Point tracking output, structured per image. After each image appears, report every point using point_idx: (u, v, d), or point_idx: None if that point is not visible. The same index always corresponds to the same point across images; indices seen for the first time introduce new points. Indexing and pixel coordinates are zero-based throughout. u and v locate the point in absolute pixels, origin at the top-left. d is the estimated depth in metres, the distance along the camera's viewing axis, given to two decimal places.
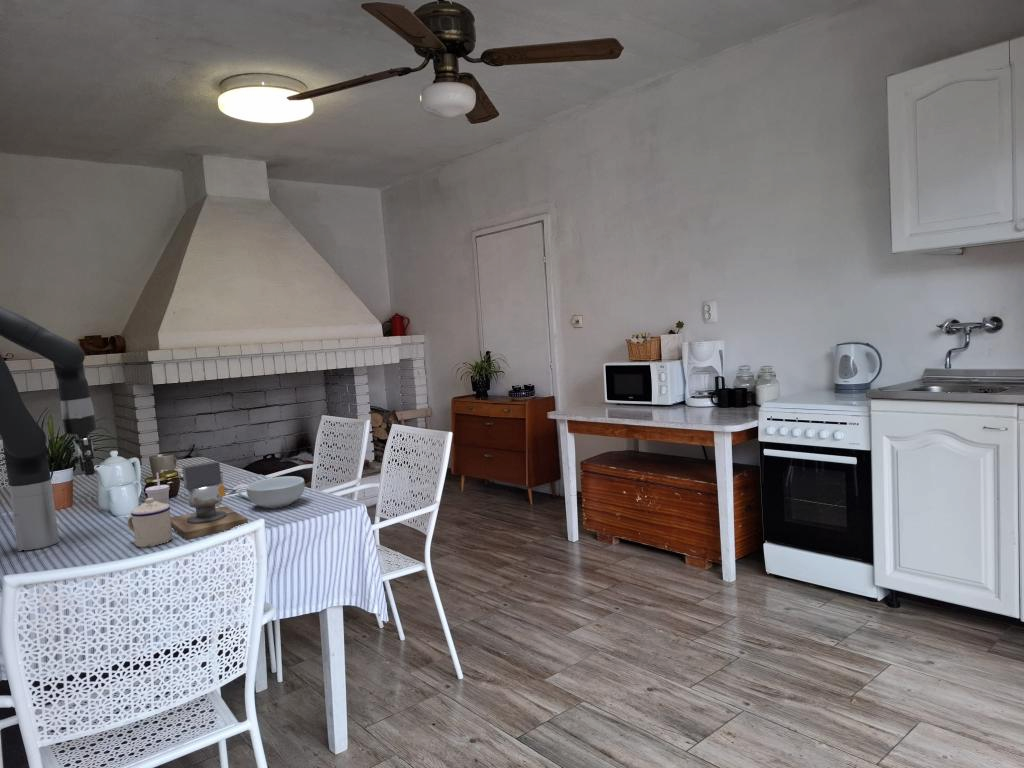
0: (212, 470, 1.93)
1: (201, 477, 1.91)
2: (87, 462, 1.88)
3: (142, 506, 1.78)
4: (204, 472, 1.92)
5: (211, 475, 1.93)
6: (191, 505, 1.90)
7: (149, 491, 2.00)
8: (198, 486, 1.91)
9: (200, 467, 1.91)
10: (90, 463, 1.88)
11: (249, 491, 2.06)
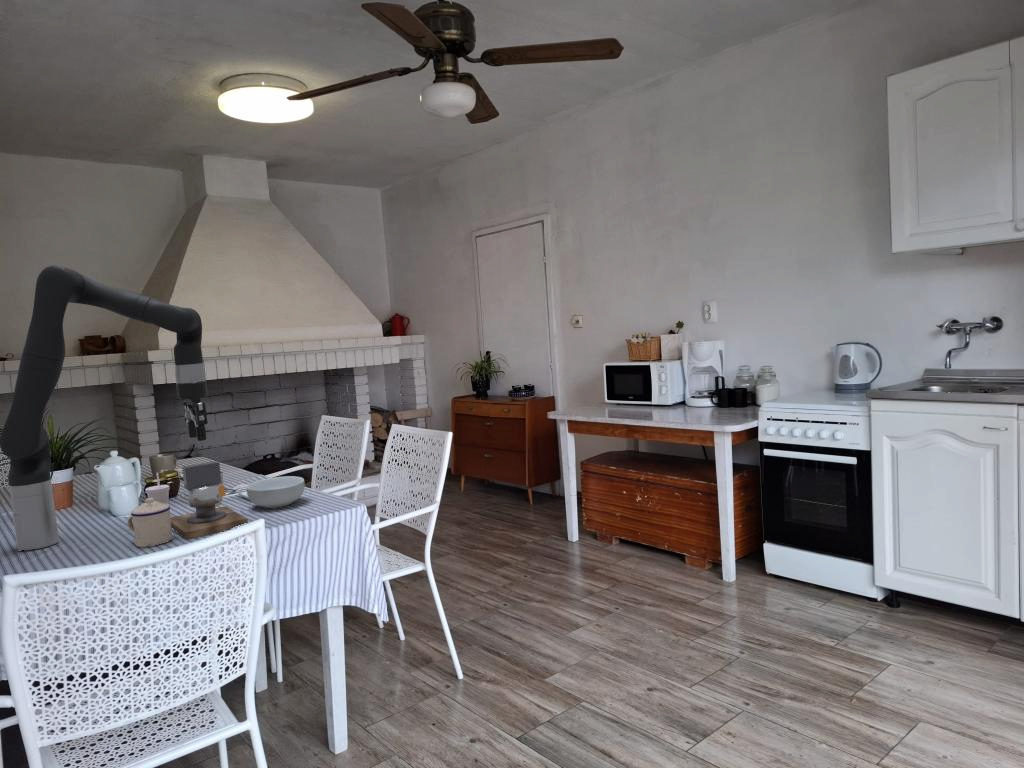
0: (212, 470, 1.93)
1: (201, 477, 1.91)
2: (200, 427, 1.87)
3: (142, 506, 1.78)
4: (204, 472, 1.92)
5: (211, 475, 1.93)
6: (191, 505, 1.90)
7: (149, 491, 2.00)
8: (198, 486, 1.91)
9: (200, 467, 1.91)
10: (203, 428, 1.88)
11: (249, 491, 2.06)
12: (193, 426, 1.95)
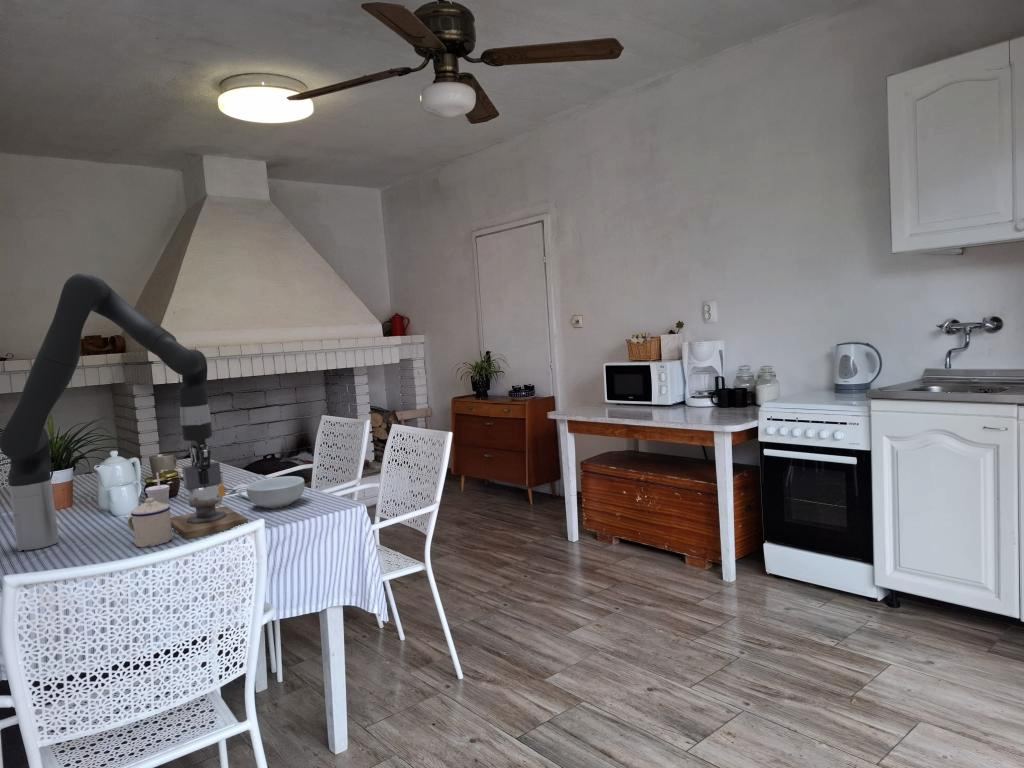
0: (212, 470, 1.93)
1: None
2: (203, 471, 1.90)
3: (142, 506, 1.78)
4: None
5: (211, 475, 1.93)
6: (191, 505, 1.90)
7: (149, 491, 2.00)
8: (198, 486, 1.91)
9: None
10: (205, 472, 1.91)
11: (249, 491, 2.06)
12: None
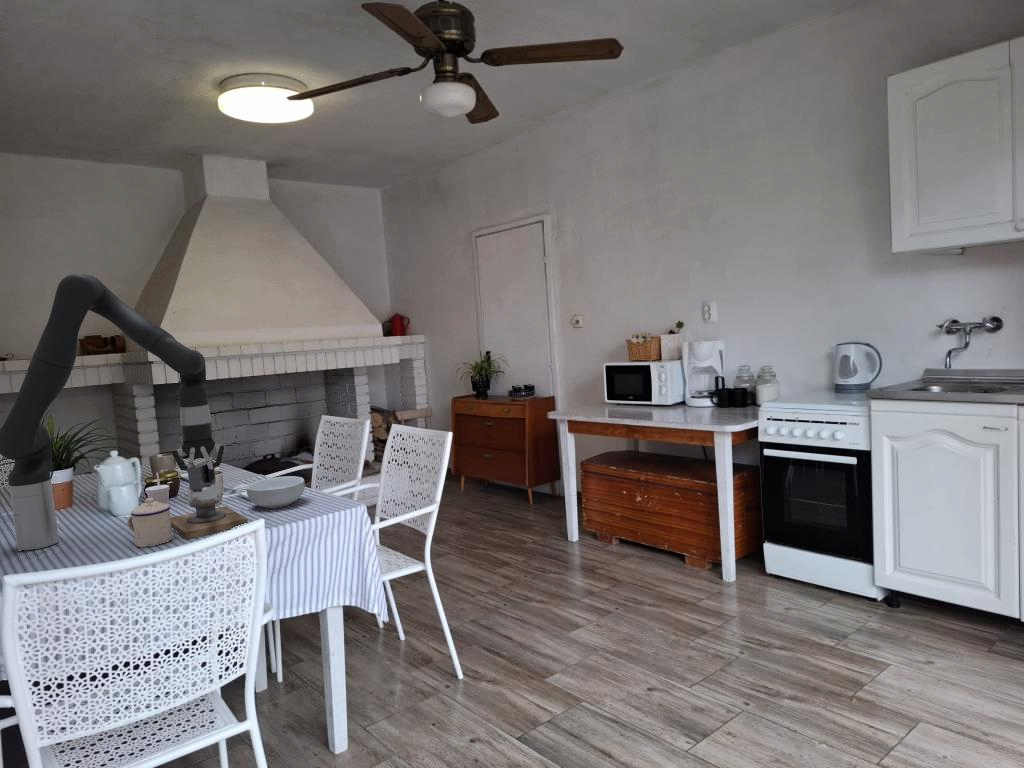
0: None
1: (206, 476, 1.92)
2: None
3: (142, 506, 1.78)
4: (207, 471, 1.93)
5: None
6: (202, 505, 1.90)
7: (149, 491, 2.00)
8: (205, 485, 1.91)
9: (205, 466, 1.92)
10: (214, 470, 1.94)
11: (249, 491, 2.06)
12: None
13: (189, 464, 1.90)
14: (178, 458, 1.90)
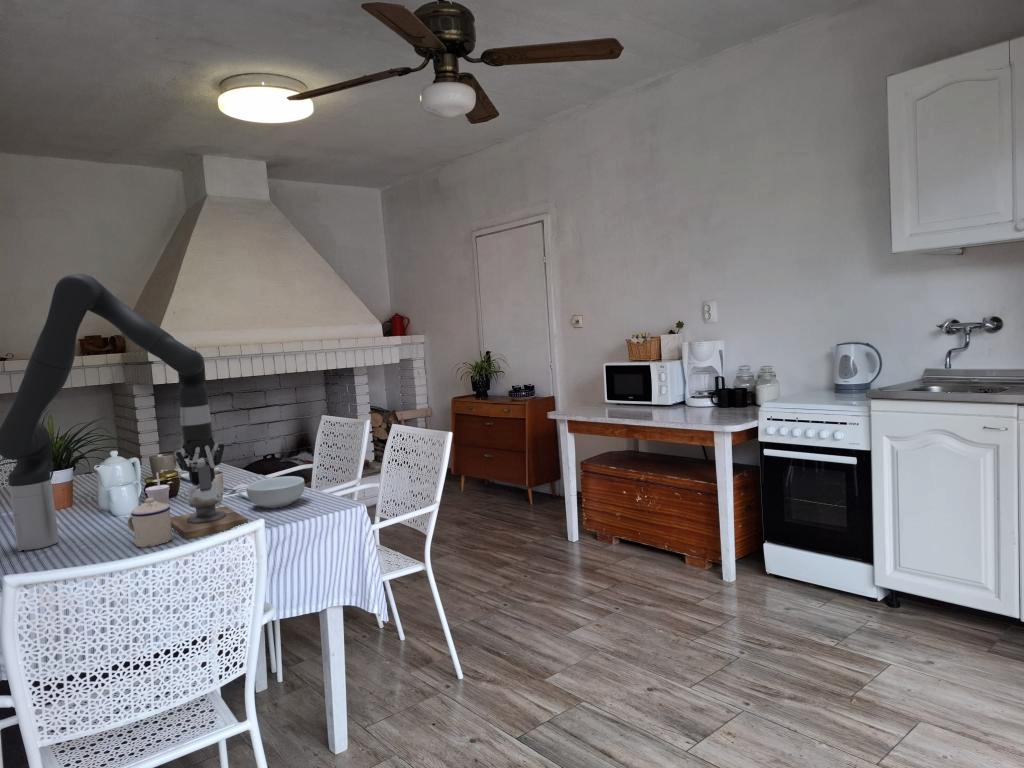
0: None
1: None
2: None
3: (142, 506, 1.78)
4: None
5: None
6: (212, 503, 1.91)
7: (149, 491, 2.00)
8: None
9: (207, 465, 1.93)
10: None
11: (249, 491, 2.06)
12: None
13: (193, 464, 1.90)
14: (183, 459, 1.88)
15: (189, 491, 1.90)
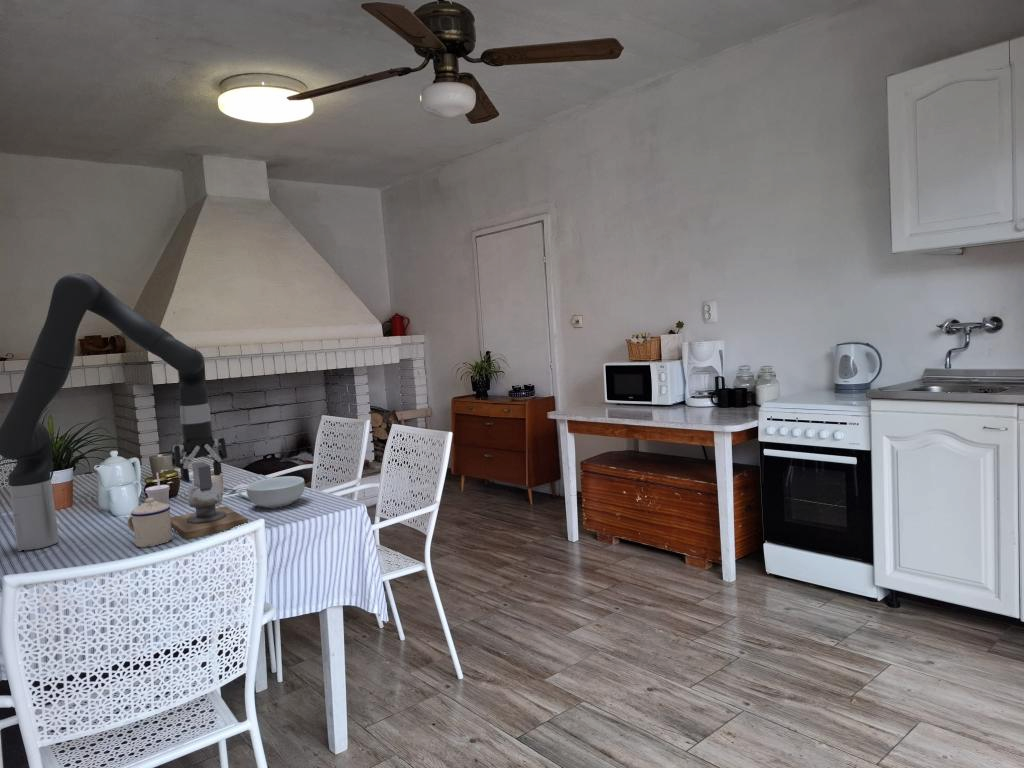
0: None
1: None
2: None
3: (142, 506, 1.78)
4: None
5: None
6: (212, 503, 1.91)
7: (149, 491, 2.00)
8: None
9: (207, 465, 1.93)
10: None
11: (249, 491, 2.06)
12: None
13: (187, 461, 1.89)
14: (178, 454, 1.87)
15: (189, 491, 1.90)
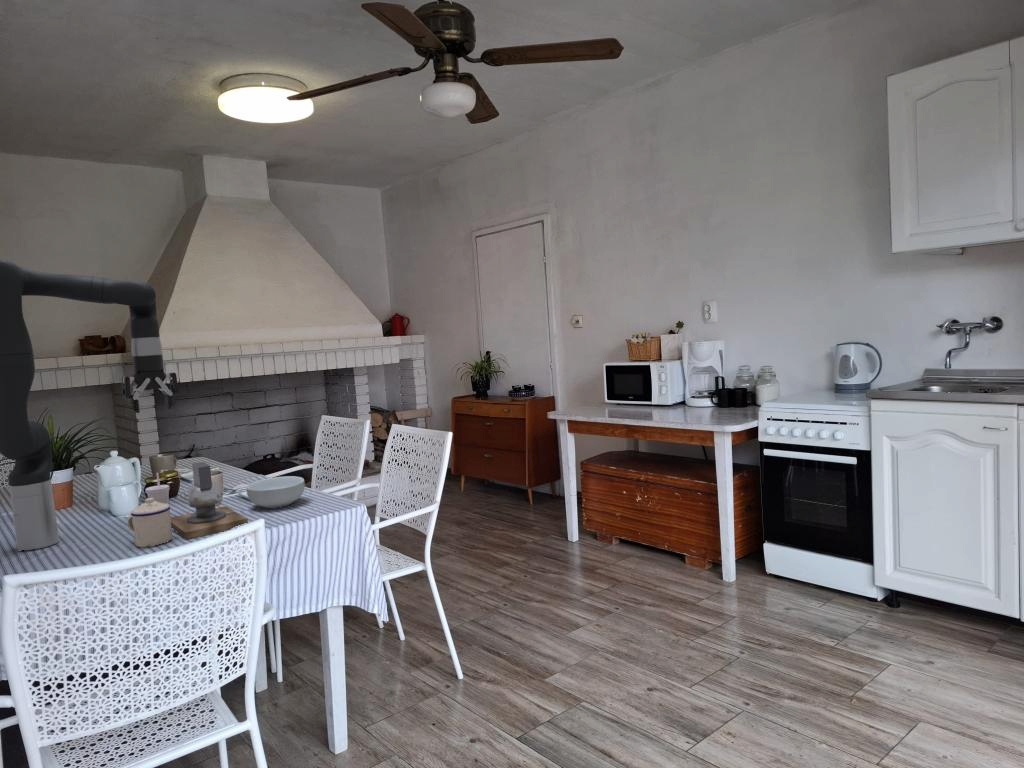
0: None
1: None
2: None
3: (142, 506, 1.78)
4: None
5: None
6: (212, 503, 1.91)
7: (149, 491, 2.00)
8: None
9: (207, 465, 1.93)
10: None
11: (249, 491, 2.06)
12: None
13: (137, 392, 1.93)
14: (128, 385, 1.91)
15: (189, 491, 1.90)
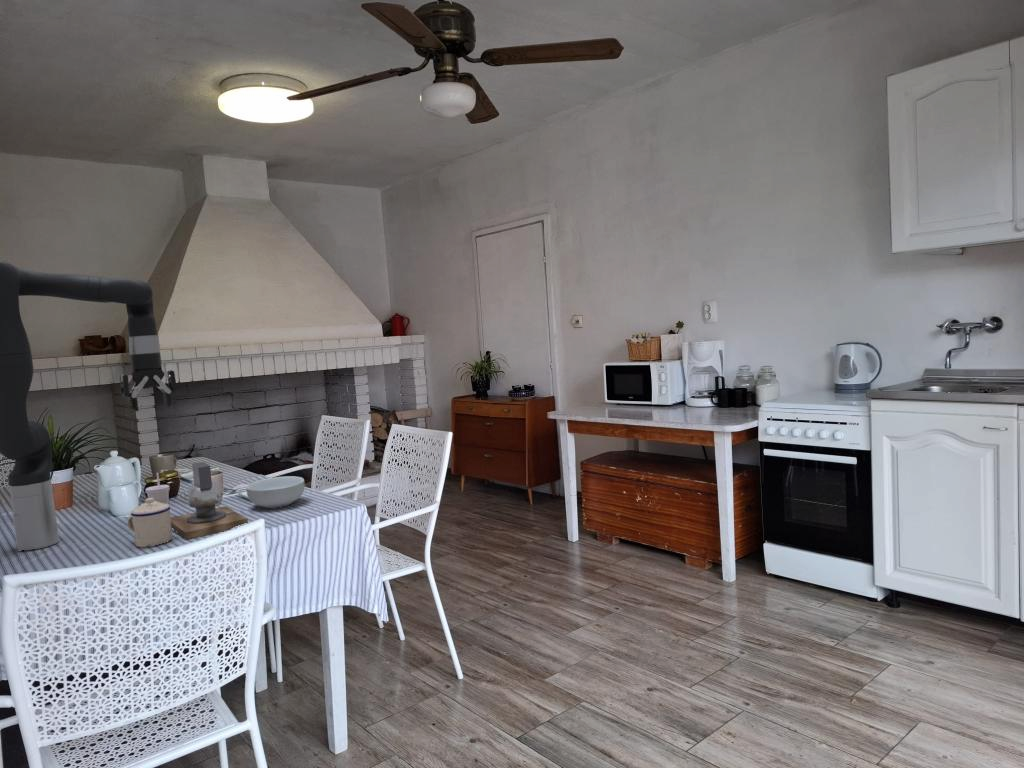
0: None
1: None
2: None
3: (142, 506, 1.78)
4: None
5: None
6: (212, 503, 1.91)
7: (149, 491, 2.00)
8: None
9: (207, 465, 1.93)
10: None
11: (249, 491, 2.06)
12: None
13: (135, 390, 1.93)
14: (127, 383, 1.91)
15: (189, 491, 1.90)
